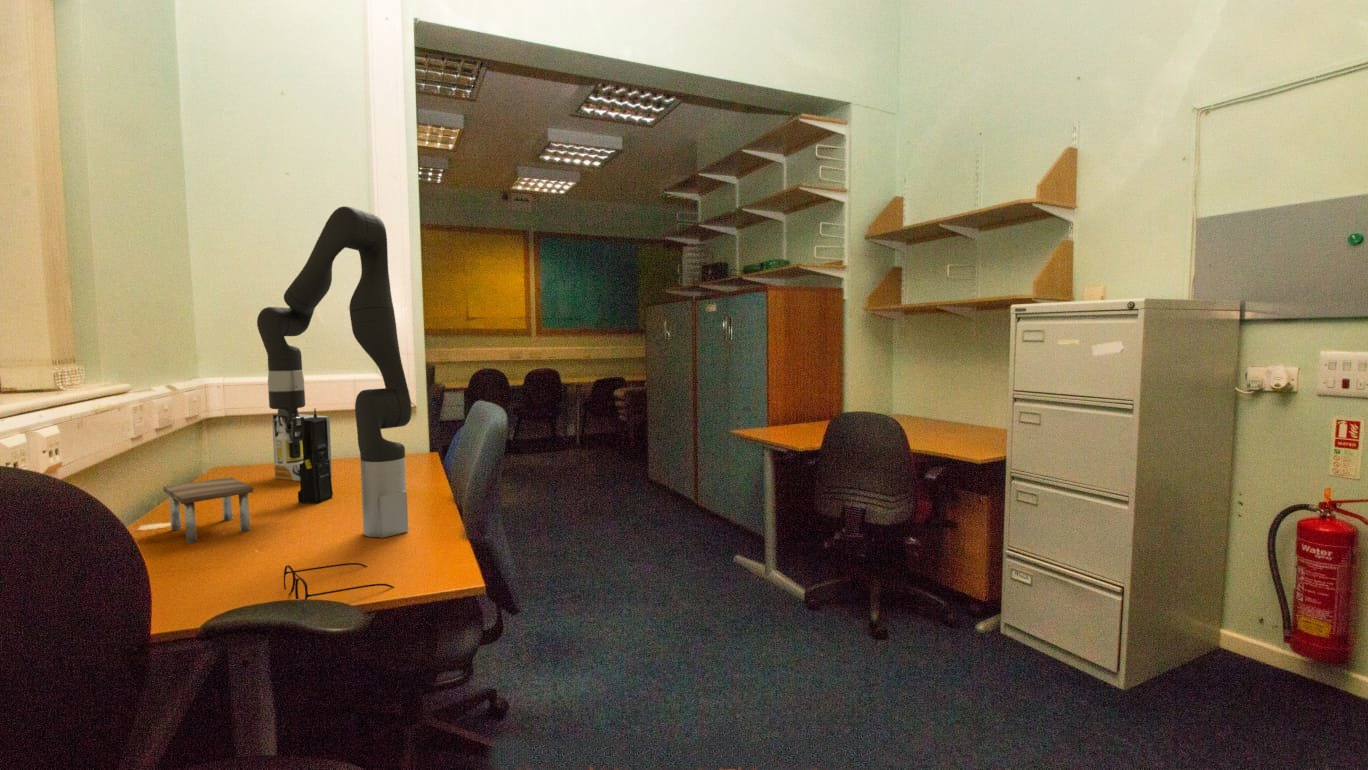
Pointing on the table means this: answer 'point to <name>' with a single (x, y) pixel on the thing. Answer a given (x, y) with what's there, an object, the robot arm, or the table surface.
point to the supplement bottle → (286, 450)
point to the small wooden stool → (206, 492)
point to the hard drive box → (294, 470)
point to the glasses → (323, 592)
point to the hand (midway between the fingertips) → (290, 456)
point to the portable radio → (315, 462)
